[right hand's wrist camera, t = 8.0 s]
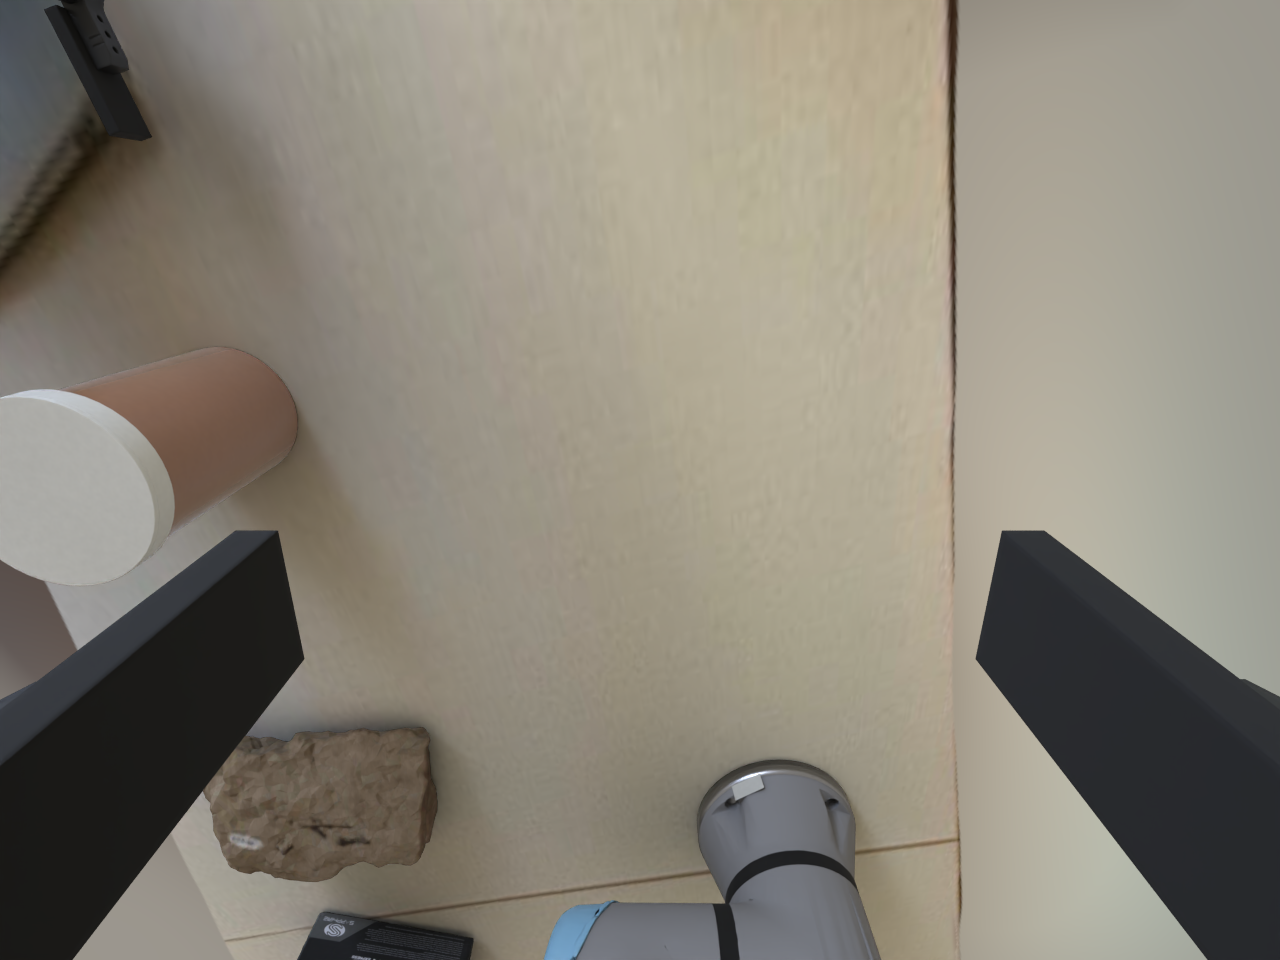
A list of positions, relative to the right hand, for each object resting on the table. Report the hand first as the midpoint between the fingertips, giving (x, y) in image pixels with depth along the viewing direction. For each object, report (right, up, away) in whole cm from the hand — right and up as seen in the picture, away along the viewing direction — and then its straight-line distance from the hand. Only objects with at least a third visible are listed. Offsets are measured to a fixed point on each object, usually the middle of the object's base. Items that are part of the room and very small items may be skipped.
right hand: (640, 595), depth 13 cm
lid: (-32, +1, +25) cm, 40 cm away
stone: (-30, -26, +53) cm, 66 cm away
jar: (-32, +7, +41) cm, 52 cm away
